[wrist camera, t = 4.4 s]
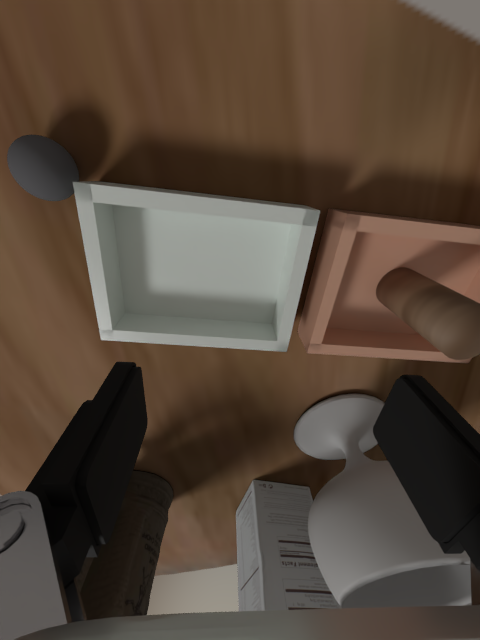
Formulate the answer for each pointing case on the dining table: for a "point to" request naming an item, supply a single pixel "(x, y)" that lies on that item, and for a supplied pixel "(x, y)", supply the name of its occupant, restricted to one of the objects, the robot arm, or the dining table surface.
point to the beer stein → (128, 552)
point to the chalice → (372, 519)
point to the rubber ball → (42, 167)
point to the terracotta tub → (367, 270)
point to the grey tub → (194, 265)
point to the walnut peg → (433, 311)
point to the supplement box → (278, 551)
